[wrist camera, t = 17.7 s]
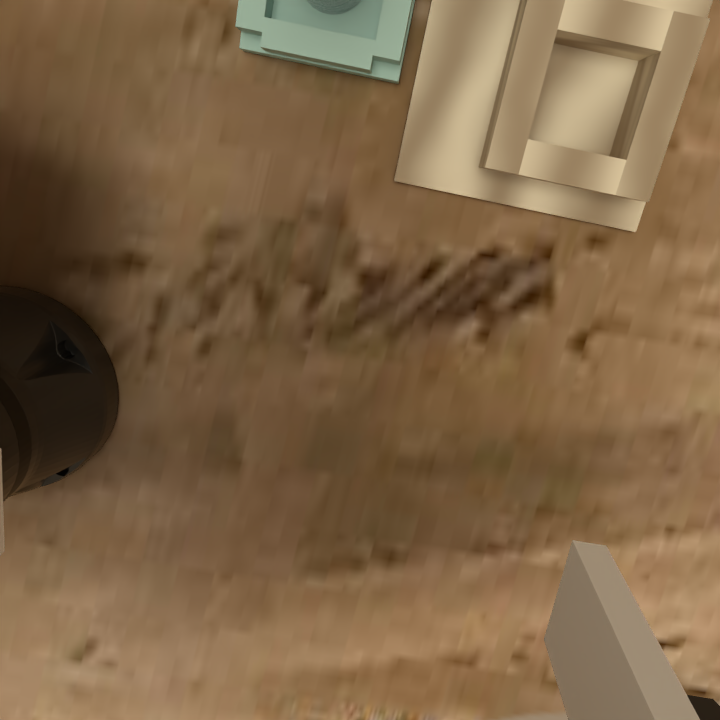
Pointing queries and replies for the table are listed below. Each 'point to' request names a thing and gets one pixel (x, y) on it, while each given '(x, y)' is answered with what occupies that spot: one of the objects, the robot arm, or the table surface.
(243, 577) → the table surface
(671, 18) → the socket block
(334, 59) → the tray
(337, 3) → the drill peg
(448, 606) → the table surface
